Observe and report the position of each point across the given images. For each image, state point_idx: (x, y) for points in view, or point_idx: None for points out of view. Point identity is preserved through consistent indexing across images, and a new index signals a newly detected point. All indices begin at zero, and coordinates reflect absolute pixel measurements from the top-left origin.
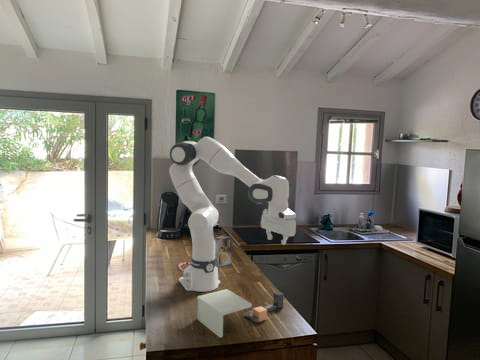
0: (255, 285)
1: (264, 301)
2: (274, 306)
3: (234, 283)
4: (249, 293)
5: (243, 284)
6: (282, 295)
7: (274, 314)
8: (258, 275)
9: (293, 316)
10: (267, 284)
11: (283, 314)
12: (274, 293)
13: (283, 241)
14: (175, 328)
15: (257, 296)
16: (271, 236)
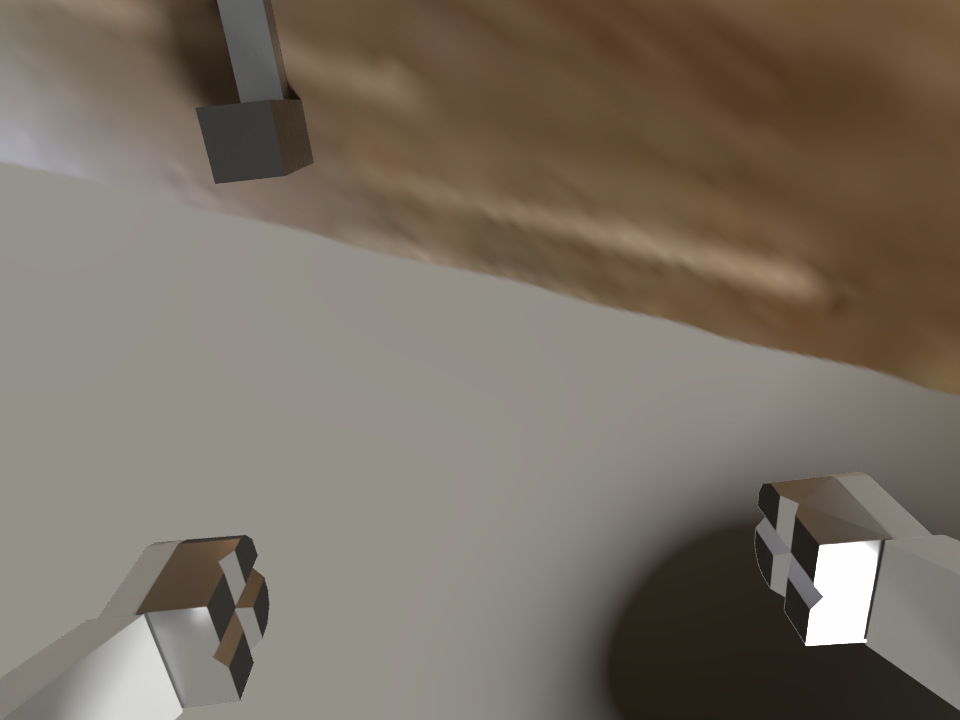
0: (759, 215)
1: (425, 88)
2: (234, 70)
3: (923, 50)
4: (641, 56)
5: (846, 123)
6: (215, 167)
7: (154, 12)
8: (919, 364)
9: (75, 145)
10: (714, 322)
11: (132, 89)
12: (258, 103)
13: (112, 609)
14: None
15: (547, 90)
16: (802, 598)
